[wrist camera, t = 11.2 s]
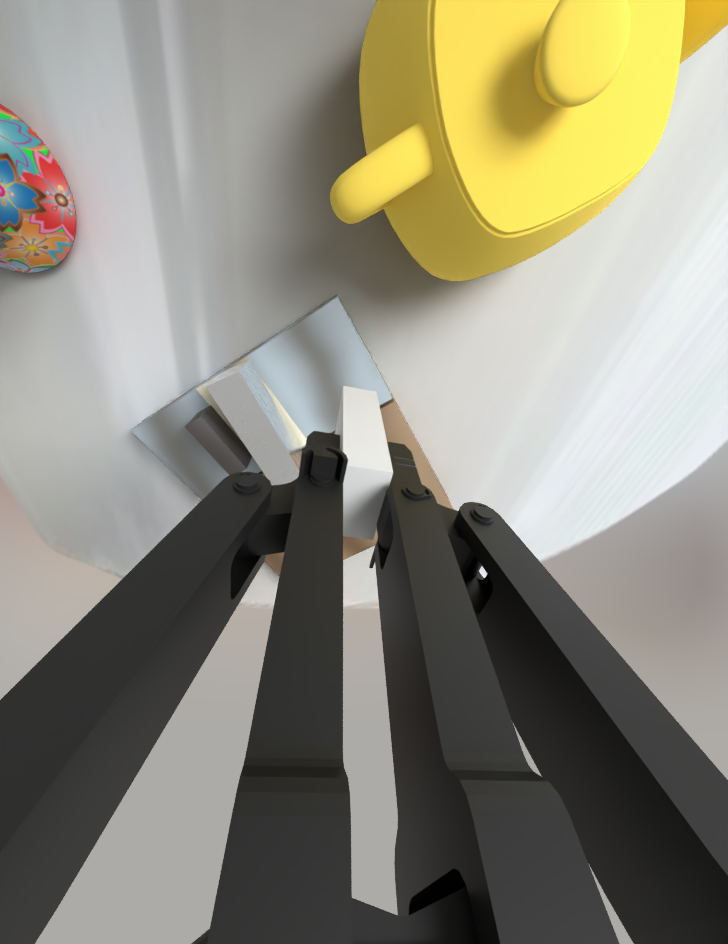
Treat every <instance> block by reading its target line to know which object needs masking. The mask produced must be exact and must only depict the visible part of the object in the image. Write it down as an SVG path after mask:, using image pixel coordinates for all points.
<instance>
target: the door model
mask: <svg viewBox="0 0 728 944" xmlns="http://www.w3.org/2000/svg"><path fill="white" fill-rule="evenodd" d="M247 360H250V361H251V363H252V365H253V367H254V368H255V370H256V372H257V373H258V375H259V377H260V379H261V380H262V382H263V384H264V386H265V387H266V389H267V391H268V392H269V394H270V396H271V398H272V399H273V401H274V403H275V405H276V406H277V408H278V410H279V411H280V413H281V415H282V417H283V418H284V420H285V422H286V424H287V425H288V427H289V429H290V430H291V432H292V434H293V436H294V437H295V439H296V441H297V443H298V444H299V446H300V448H301V449H302V451H303V450H304V449H305V446H306V440H307V436H308V435H309V434H311V433H312V432H313V431H319V432H325V433H332V434H335V430H336V425H337V419H338V414H339V408H340V403H341V397H342V391H343V386H348V387H354V388H359V389H364V390H370V391H375V392H377V396H378V401H379V406H380V410H381V415H382V420H383V425H384V430H385V435H386V440H387V442H393V443H399V444H405V446H406V447H407V448H408V449H409V450H410V451H411V452H412V455H413V458H414V461H415V465H416V468H417V471H418V474H419V477H420V481H421V484H422V485H424V486H426V487H427V488H428V489H430V490H431V491H432V493H433V494H434V496H435V499H436V501H437V503H438V504H440V505H442V506H445V507H447V508H450V509H453V508H452V506H451V503H450V501H449V499H448V497H447V495H446V493H445V491H444V489H443V488H442V486H441V484H440V482H439V480H438V478H437V477H436V475H435V473H434V471H433V469H432V467H431V466H430V464H429V462H428V460H427V458H426V456H425V455H424V453H423V451H422V449H421V447H420V445H419V444H418V442H417V440H416V438H415V436H414V434H413V433H412V431H411V429H410V427H409V425H408V423H407V422H406V420H405V418H404V416H403V414H402V412H401V411H400V409H399V407H398V405H397V403H396V401H395V399H394V398H393V396H392V394H391V393H390V390H389V388H388V387H387V385H386V383H385V381H384V379H383V377H382V376H381V374H380V372H379V370H378V368H377V366H376V365H375V363H374V361H373V359H372V357H371V355H370V354H369V352H368V350H367V348H366V346H365V344H364V343H363V341H362V339H361V337H360V335H359V333H358V332H357V330H356V328H355V326H354V324H353V322H352V320H351V319H350V317H349V315H348V313H347V311H346V309H345V308H344V306H343V304H342V302H341V300H340V298H339V297H338V295H336V296H335V297H333V298H332V299H330V300H329V301H327V302H326V303H324V304H322V305H321V306H319V307H318V308H316V309H315V310H313V311H312V312H310V313H309V314H307V315H305V316H304V317H302V318H301V319H299V320H298V321H296V322H295V323H293V324H292V325H290V326H288V327H287V328H285V329H284V330H282V331H281V332H279V333H278V334H276V335H275V336H273V337H271V338H270V339H268V340H267V341H265V342H264V343H262V344H261V345H259V346H258V347H256V348H254V349H253V350H251V351H250V352H248V353H247V354H245V355H244V356H242V357H241V358H239V359H237V360H236V361H234V362H233V363H231V364H230V365H228V366H227V367H225V368H224V369H222V370H220V371H219V372H217V373H216V374H214V375H213V376H211V377H210V378H208V379H207V380H205V381H203V382H202V383H200V384H199V385H197V386H196V387H194V388H193V389H191V390H190V391H188V392H186V393H185V394H183V395H182V396H180V397H179V398H177V399H176V400H174V401H173V402H171V403H169V404H168V405H166V406H165V407H163V408H162V409H160V410H159V411H157V412H156V413H154V414H152V415H151V416H149V417H148V418H146V419H145V420H143V421H142V422H141V423H140V424H138V425H137V426H136V427H135V428H134V429H132V430H131V431H132V432H133V433H134V434H135V435H136V436H137V437H138V438H139V439H140V440H141V441H142V442H143V443H144V444H145V445H146V446H147V447H148V448H149V449H150V450H151V451H152V452H153V453H154V454H155V455H156V456H157V457H158V458H159V459H160V460H161V461H162V462H163V463H164V464H165V465H166V466H167V467H169V468H170V469H171V470H172V471H173V472H174V473H175V474H176V475H177V476H178V477H179V478H180V479H181V480H182V481H183V482H184V483H185V484H186V485H187V486H188V487H189V488H190V489H191V490H192V491H193V492H194V493H195V494H196V495H197V496H198V497H199V498H200V499H201V500H203V499H204V498H205V497H206V496H207V495H208V494H209V493H210V492H211V491H212V490H213V489H214V488H215V487H216V486H217V485H218V484H219V483H220V482H221V481H222V480H223V479H224V478H226V477H227V476H229V475H230V474H234V473H237V472H254V473H258V474H261V475H263V476H265V474H264V473H263V471H262V470H261V468H260V467H259V465H258V464H257V462H256V461H255V460H254V458H253V457H252V455H251V454H250V452H249V451H248V449H247V448H246V446H245V445H244V443H243V442H242V440H241V439H240V437H239V436H238V434H237V433H236V431H235V430H234V428H233V427H232V425H231V424H230V422H229V421H228V419H227V418H226V416H225V415H224V413H223V412H222V410H221V409H220V407H219V406H218V405H217V403H216V402H215V400H214V399H213V397H212V396H211V394H210V393H209V391H208V390H207V388H206V386H207V385H208V384H209V383H210V382H211V381H212V380H213V379H214V378H215V377H216V376H217V375H218V374H219V373H221V372H223V371H226V370H228V369H230V368H232V367H234V366H236V365H239V364H241V363H243V362H245V361H247ZM265 477H266V476H265ZM266 478H267V477H266ZM377 539H378V534H377V529H376V532H375V536H374V539H373V540H370V539H361V538H353V537H345V536H343V560H344V559H346V558H349V557H351V556H353V555H355V554H357V553H359V552H362V551H364V550H366V549H368V548H370V547H372V546H375V545H376V542H377ZM283 556H284V552H282V553H275V554H269V555H266V557H265V560H264V561H265V562H266V563H267V564H268V565H269V566H270V567H271V568H272V569H273V570H274V571H275V572H276V573H277V574H278V575H279V576H280V572H281V567H282V562H283Z"/></svg>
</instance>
